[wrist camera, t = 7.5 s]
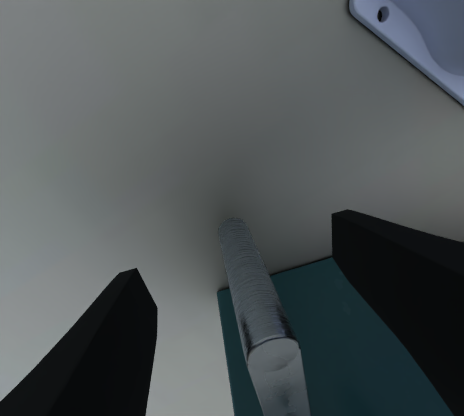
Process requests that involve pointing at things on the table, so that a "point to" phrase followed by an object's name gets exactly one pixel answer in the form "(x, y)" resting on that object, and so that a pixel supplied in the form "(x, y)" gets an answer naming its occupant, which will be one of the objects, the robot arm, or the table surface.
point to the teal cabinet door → (311, 342)
